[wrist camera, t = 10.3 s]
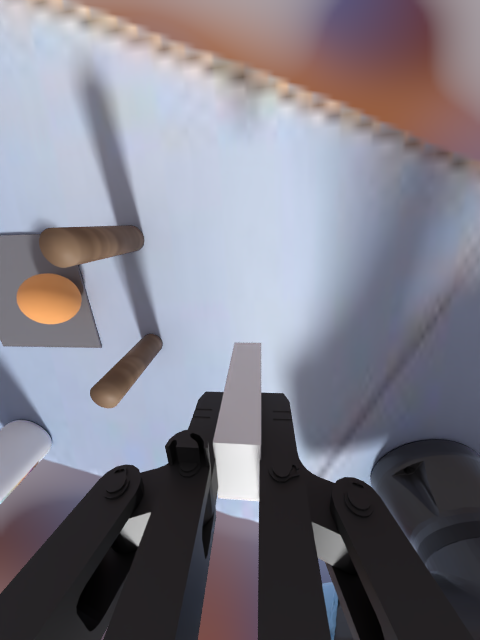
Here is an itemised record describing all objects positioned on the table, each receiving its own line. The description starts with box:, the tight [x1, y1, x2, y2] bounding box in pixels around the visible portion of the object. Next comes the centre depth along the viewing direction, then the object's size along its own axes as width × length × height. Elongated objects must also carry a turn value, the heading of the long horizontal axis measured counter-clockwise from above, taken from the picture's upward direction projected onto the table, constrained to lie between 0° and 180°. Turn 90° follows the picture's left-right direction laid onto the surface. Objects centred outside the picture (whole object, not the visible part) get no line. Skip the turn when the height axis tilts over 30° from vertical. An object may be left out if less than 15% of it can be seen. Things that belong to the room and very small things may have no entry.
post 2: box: [90, 334, 163, 408], centre depth 25 cm, size 3×3×10 cm
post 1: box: [39, 225, 144, 268], centre depth 21 cm, size 3×3×10 cm
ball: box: [16, 273, 82, 324], centre depth 26 cm, size 6×6×6 cm
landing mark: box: [0, 234, 102, 348], centre depth 29 cm, size 14×14×1 cm
